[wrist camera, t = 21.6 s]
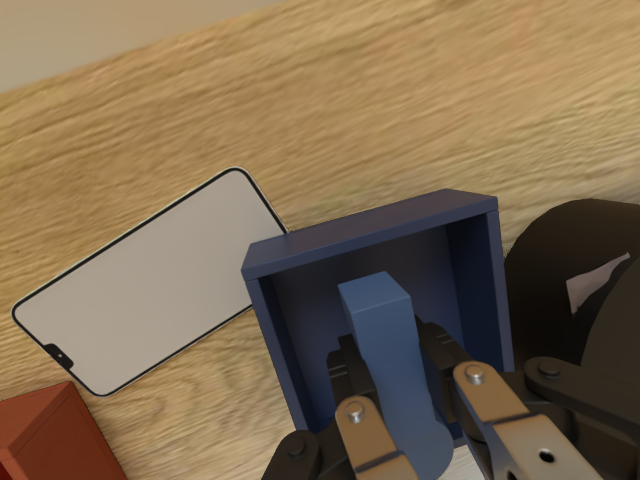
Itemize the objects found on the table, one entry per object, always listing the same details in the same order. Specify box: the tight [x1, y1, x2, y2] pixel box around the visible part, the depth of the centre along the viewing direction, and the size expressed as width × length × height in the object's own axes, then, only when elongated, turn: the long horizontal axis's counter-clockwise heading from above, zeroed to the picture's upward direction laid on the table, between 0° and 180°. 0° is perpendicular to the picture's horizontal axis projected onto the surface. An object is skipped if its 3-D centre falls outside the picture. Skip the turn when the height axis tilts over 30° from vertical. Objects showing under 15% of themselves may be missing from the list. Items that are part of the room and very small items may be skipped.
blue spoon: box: [338, 271, 454, 480], centre depth 13 cm, size 10×4×3 cm, turn 15°
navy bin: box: [240, 188, 515, 448], centre depth 17 cm, size 13×12×4 cm
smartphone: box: [10, 166, 289, 398], centre depth 18 cm, size 7×1×15 cm
